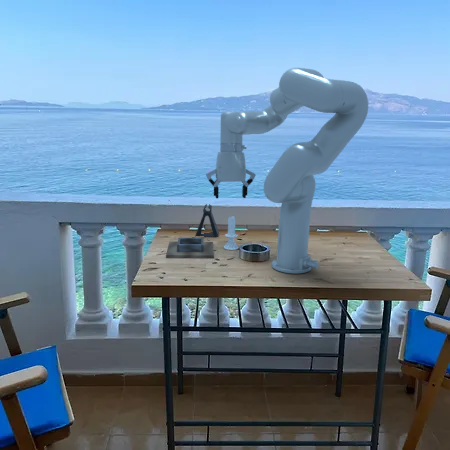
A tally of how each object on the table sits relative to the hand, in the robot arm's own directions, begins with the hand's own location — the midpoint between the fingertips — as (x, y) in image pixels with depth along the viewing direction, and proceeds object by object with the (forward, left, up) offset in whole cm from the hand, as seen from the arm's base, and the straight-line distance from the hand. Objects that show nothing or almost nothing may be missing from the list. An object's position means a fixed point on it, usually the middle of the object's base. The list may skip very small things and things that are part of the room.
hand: (230, 197), depth 161 cm
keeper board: (+8, +12, -18) cm, 23 cm away
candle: (-1, 0, -19) cm, 19 cm away
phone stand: (+16, -8, -19) cm, 26 cm away
